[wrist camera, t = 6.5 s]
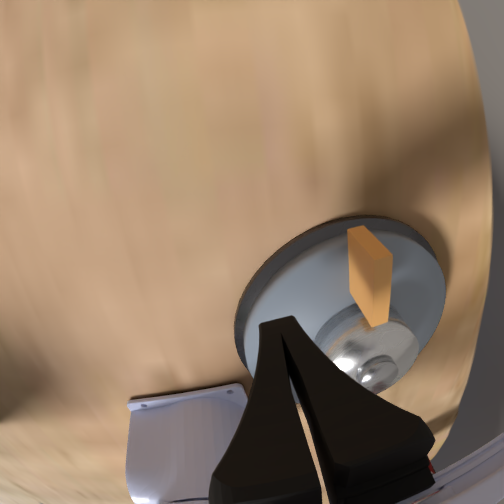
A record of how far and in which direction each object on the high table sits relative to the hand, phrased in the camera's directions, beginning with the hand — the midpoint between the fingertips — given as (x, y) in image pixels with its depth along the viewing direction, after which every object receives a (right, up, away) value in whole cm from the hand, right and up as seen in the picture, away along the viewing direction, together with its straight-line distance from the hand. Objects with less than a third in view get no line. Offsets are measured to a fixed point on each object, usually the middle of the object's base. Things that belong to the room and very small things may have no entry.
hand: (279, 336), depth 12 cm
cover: (+6, -2, +7) cm, 9 cm away
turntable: (+5, -1, +9) cm, 10 cm away
